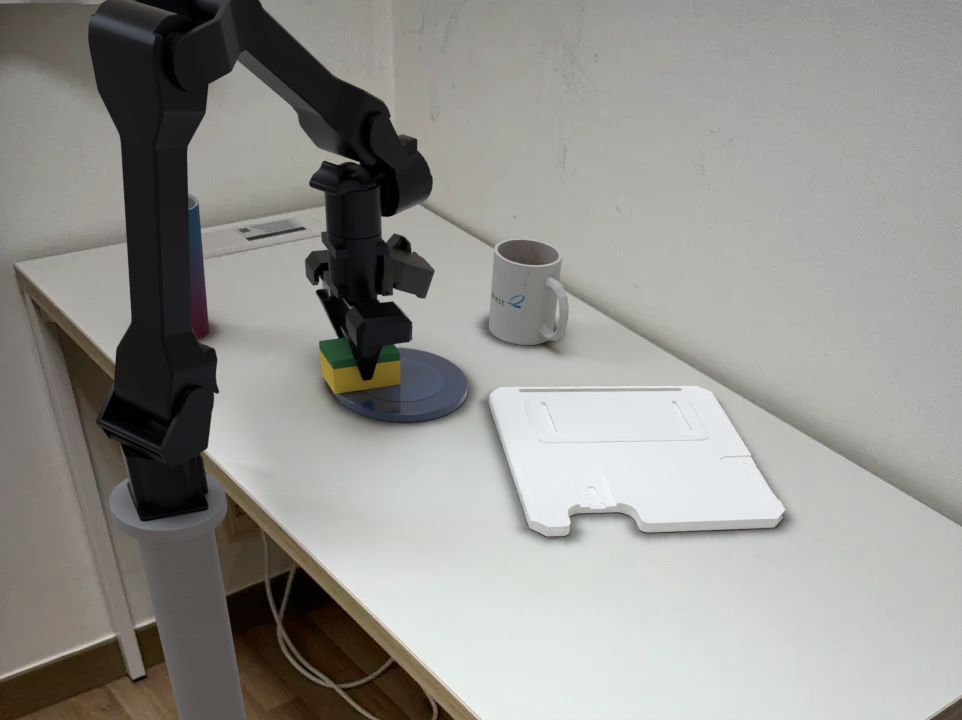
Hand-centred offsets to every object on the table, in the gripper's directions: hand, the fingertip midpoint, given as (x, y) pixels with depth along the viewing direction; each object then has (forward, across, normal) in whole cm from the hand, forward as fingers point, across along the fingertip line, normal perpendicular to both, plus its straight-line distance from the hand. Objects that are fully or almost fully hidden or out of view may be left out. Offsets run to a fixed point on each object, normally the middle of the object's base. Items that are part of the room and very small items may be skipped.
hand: (359, 369), depth 114 cm
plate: (+2, -1, -4) cm, 5 cm away
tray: (+3, -23, -24) cm, 33 cm away
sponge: (+1, 0, 0) cm, 1 cm away
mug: (+3, +7, -26) cm, 27 cm away
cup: (+2, +19, +16) cm, 25 cm away
